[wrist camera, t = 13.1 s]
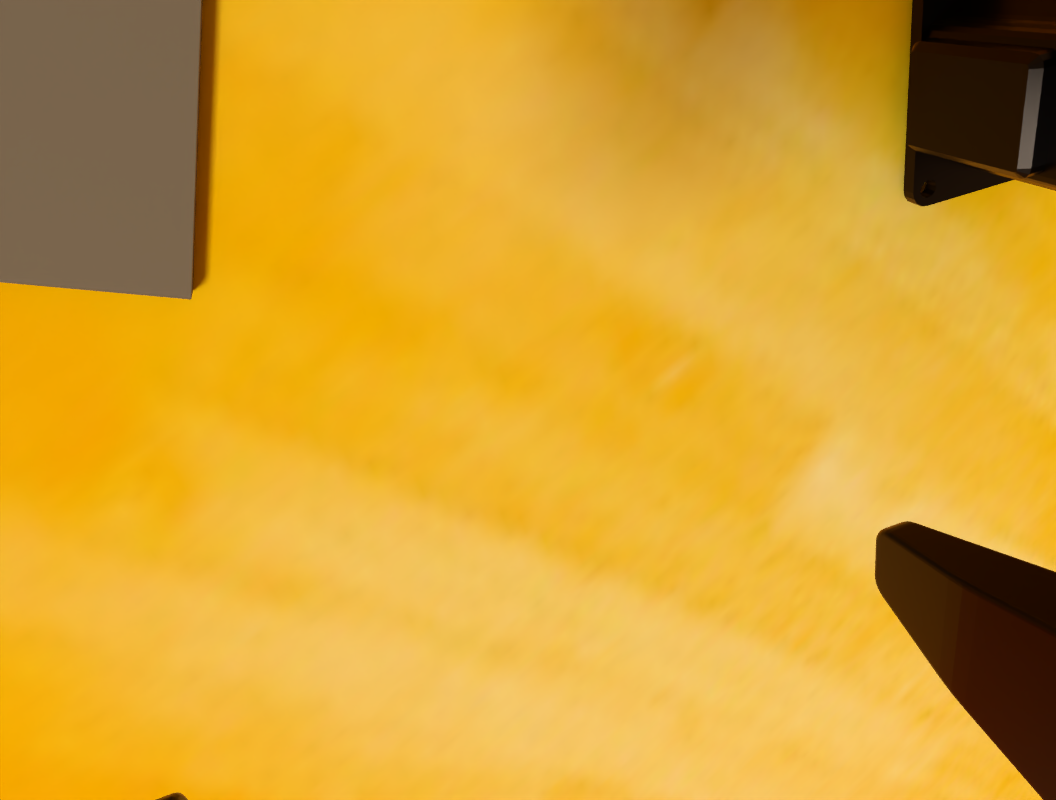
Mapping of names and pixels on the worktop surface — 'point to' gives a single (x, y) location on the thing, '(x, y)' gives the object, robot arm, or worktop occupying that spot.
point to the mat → (99, 144)
